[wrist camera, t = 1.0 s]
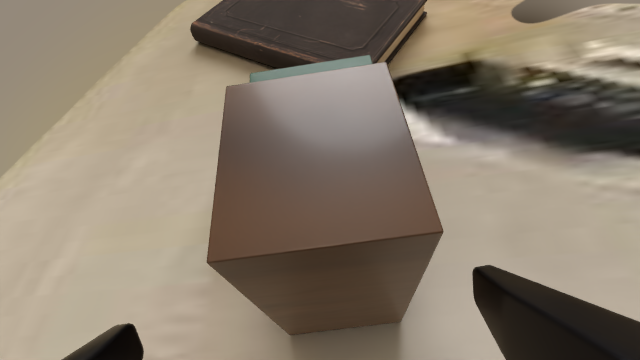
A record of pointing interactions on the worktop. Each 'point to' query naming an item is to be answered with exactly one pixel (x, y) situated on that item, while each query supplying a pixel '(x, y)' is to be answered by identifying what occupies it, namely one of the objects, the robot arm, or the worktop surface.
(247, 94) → the walnut block
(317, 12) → the hardcover book
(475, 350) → the worktop surface
